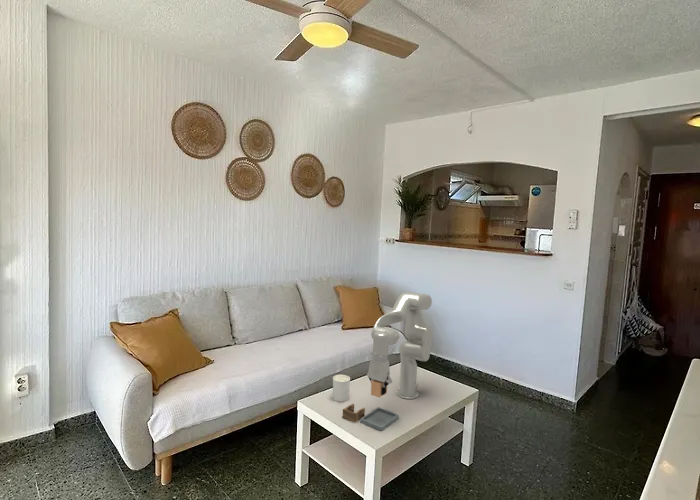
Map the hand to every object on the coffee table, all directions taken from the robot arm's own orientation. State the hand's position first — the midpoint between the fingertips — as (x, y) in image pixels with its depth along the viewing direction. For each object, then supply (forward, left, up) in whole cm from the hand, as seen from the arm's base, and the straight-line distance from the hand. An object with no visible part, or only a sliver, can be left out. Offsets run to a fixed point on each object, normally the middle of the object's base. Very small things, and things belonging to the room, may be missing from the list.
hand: (378, 392), depth 195 cm
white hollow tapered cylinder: (-8, -30, -16) cm, 35 cm away
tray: (-2, 0, -15) cm, 16 cm away
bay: (+4, -12, -15) cm, 20 cm away
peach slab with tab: (-2, 0, -1) cm, 3 cm away
